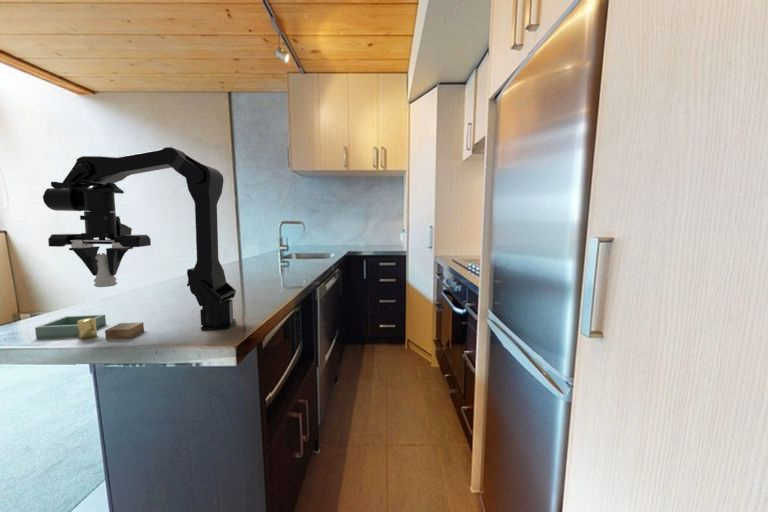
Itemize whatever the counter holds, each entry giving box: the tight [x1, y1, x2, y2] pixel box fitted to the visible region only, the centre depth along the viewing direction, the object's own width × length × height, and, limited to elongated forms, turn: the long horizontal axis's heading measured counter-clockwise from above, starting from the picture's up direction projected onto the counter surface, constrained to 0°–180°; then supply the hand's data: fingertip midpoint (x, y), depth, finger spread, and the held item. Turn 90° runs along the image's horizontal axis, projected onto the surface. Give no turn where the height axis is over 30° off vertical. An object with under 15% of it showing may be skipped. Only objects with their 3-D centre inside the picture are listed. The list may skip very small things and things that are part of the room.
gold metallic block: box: [77, 318, 98, 340], centre depth 71 cm, size 3×3×4 cm
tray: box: [34, 314, 107, 339], centre depth 75 cm, size 9×9×2 cm
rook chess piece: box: [93, 252, 118, 288], centre depth 77 cm, size 4×4×8 cm
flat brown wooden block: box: [104, 321, 145, 340], centre depth 73 cm, size 5×5×2 cm
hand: (104, 275), depth 77 cm, fingers closed on rook chess piece, 3 cm apart
